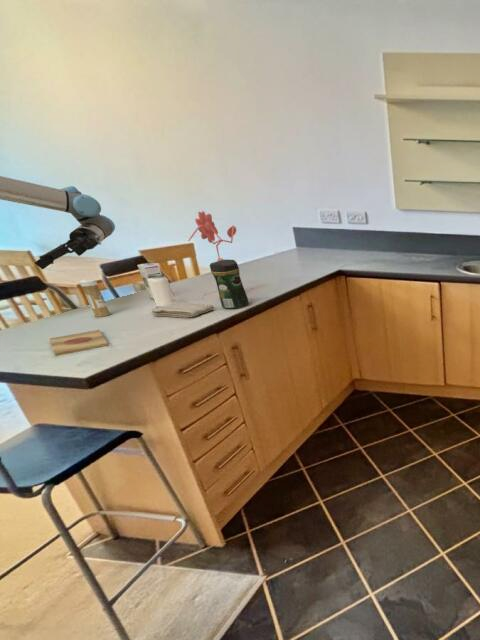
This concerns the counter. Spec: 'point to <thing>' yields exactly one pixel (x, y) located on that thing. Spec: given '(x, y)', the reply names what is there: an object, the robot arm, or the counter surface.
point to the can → (161, 290)
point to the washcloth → (182, 309)
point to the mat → (77, 342)
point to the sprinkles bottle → (94, 297)
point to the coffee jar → (229, 284)
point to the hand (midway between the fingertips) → (57, 259)
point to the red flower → (211, 231)
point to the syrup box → (149, 274)
